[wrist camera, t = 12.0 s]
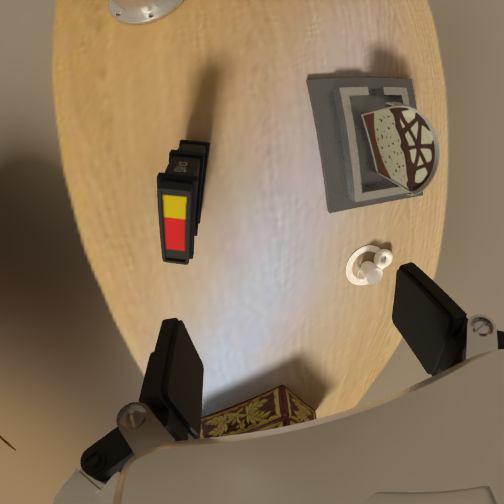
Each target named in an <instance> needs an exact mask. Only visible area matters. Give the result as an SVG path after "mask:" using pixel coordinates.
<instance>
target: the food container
mask: <svg viewBox="0 0 504 504" xmlns="http://www.w3.org/2000/svg"><path fill="white" fill-rule="evenodd" d="M386 104H389V105H392V107H388V108H384V109H380V110H376V111H372V112H369V113H365V114H362V115H361V116H362V119H363V122H364V126H365V129H366V132H367V136H368V140H369V143H370V147H371V151H372V155H373V159H374V163H375V167H376V171H377V173H378V174H379V175H381V176H383V177H385V178H386V179H388V180H390V181H392V182H393V183H395V184H397V185H398V186H400V187H402V188H403V189H405V190H407V191H408V192H410V193H408V194H407V195H410V196H413V195H417V194H419V193H420V192H422V191H423V190H424V189H425V188H426V187H427V186H428V185H429V184H430V183H431V181H432V180H433V178H434V176H435V174H436V171H437V168H438V164H439V156H440V152H439V142H438V138H437V135H436V132H435V130H434V128H433V126H432V124H431V123H430V121H429V120H428V119H427V118H426V117H425V116H424V115H423V114H422V113H421V112H419V111H418V110H417V109H415V108H413V107H411V106H408V105H405V104H402V103H398V102H386Z"/></svg>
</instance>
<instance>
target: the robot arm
mask: <svg viewBox="0 0 504 504" xmlns="http://www.w3.org/2000/svg"><path fill="white" fill-rule="evenodd" d="M183 1H184V0H108V8H109V11H110V13H111V14H112V16H113V17H114V18H115V19H117V20H118V21H120V22H123V23H125V24H132V25H136V24H145V23H149V22H153V21H156V20H158V19H160V18H163V17H164V16H166V15H168V14H170V13H171V12H172V11H174V10H175V9H176V8H177V7H178V6H179V5H180V4H181V3H182V2H183ZM152 16H153V17H152ZM151 17H152V18H151ZM392 320H393V323H394V325H395V326H396V328H397V329H398V330H399V332H400V333H401V335H402V336H403V338H404V339H405V340H406V342H407V343H408V345H409V346H410V348H411V349H412V351H413V352H414V354H415V355H416V357H417V358H418V360H419V361H420V363H421V364H422V366H423V367H424V369H425V370H426V372H427V373H428V374H431V375H432V376H433V377H431V378H428V379H426V380H424V381H422V382H420V383H418V384H415V385H413V386H411V387H409V388H406V389H404V390H402V391H399V392H397V393H394V394H392V395H389V396H387V397H384V398H381V399H379V400H376V401H373V402H370V403H368V404H365V405H362V406H359V407H356V408H353V409H350V410H347V411H343V412H340V413H337V414H333V415H330V416H326V417H322V418H319V419H315V420H311V421H307V422H303V423H298V424H294V425H289V426H285V427H280V428H275V429H269V430H263V431H257V432H251V433H244V434H237V435H230V436H222V437H212V438H202V439H197V435H199V434H200V433H201V411H202V390H203V372H204V368H203V364H202V361H201V359H200V357H199V355H198V353H197V351H196V349H195V347H194V345H193V343H192V341H191V338H190V336H189V334H188V332H187V330H186V328H185V325H184V323H183V321H181V320H180V321H178V319H177V318H171V319H165V320H163V322H162V325H161V329H160V332H159V336H158V340H157V343H156V347H155V351H154V352H152V353H151V355H150V358H149V361H148V365H147V369H146V373H145V377H144V381H143V385H142V389H141V394H140V398H139V402H132V403H129V404H127V405H125V406H124V407H122V408H121V409H120V411H119V412H118V414H117V417H116V423H117V426H118V427H116V428H115V429H114V430H112V431H111V432H110V433H108V434H107V435H106V436H105V437H103V438H102V439H100V440H99V441H97V442H96V443H95V444H93V445H92V446H91V447H89V448H88V449H87V450H86V451H84V453H83V455H82V457H81V467H82V468H81V469H80V470H78V469H76V470H75V472H74V473H73V474H72V475H71V477H70V478H69V479H68V480H67V482H66V483H65V484H64V485H63V487H62V488H61V489H60V490H59V492H58V493H57V494H56V496H55V498H54V504H504V332H503V331H498V330H497V329H496V325H495V323H494V321H493V320H492V319H491V318H489V317H487V316H485V315H474V316H472V317H470V319H468V318H467V317H466V313H465V312H464V311H463V310H462V309H461V308H460V307H459V306H458V305H457V304H456V303H455V302H454V301H453V300H452V299H451V298H450V297H449V296H448V295H447V294H446V293H445V292H444V291H443V290H442V289H441V288H440V287H439V286H438V285H437V284H436V283H435V282H434V281H433V280H432V279H431V278H429V277H428V276H427V275H426V274H425V273H424V272H423V271H422V270H421V269H420V268H418V267H417V266H416V265H415V264H414V263H412V262H410V263H407V264H404V265H401V266H400V268H399V269H398V270H397V274H396V286H395V296H394V305H393V313H392Z"/></svg>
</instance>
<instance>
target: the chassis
mask: <svg viewBox="0 0 504 504" xmlns="http://www.w3.org/2000/svg"><path fill="white" fill-rule="evenodd" d="M306 82H307V86H308V91H309V95H310V100H311V105H312V110H313V115H314V121H315V126H316V132H317V138H318V144H319V150H320V156H321V163H322V169H323V177H324V184H325V192H326V200H327V208H328V212H329V213H332V212H337V211H342V210H347V209H352V208H357V207H362V206H368V205H373V204H378V203H383V202H388V201H394V200H399V199H404V198H410V197H415V196H421V195H423V191H422V192H420V193H419V194H417V195H413V196H410V195H407V194H408V193H410V192H408V191H407V190H405V189H403V188H402V187H400V186H398V185H397V184H395V183H393V182H392V181H390V180H388V179H386V178H385V177H383V176H381V175H379V174H378V173H377V171H376V167H375V163H374V159H373V155H372V151H371V147H370V143H369V140H368V136H367V132H366V129H365V126H364V122H363V119H362V116H361V115H362V114H365V113H369V112H372V111H376V110H380V109H384V108H388V107H392V105H389V104H386V102H398V103H402V104H405V105H408V106H411V107H413V108H415V109H416V102H415V96H414V90H413V85H412V80H411V79H401V78H378V77H348V78H325V79H311V80H307V81H306Z"/></svg>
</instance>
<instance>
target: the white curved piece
mask: <svg viewBox="0 0 504 504" xmlns="http://www.w3.org/2000/svg"><path fill="white" fill-rule="evenodd" d="M367 251H371V252H374V253H376V254H375V256H374V263H373V262H371V261H365V262H363V263H362V264H361V268H360V270H359V271H358V274H357V278H356V277H355V276H354V275H353V273H352V265H353V262H354V260H355V259H356V258H357V257H358V256H359V255H360V254H361V253H363V252H367ZM385 256H386V259H385ZM392 259H393V256H392V253H391V251H389V250H387V249H380V248H379V247H377V246H374V245H367V246H363V247H361V248H359V249H358V250H356V251H355V252H354V253H353V254H352V255H351V257H350V258H349V260H348V262H347V265H346V275H347V278H348V279H349V281H350V282H352V283H353V284H356V285H366V284H376V283H378V282H379V281H380V280H381V278H382V274H383V273H382V270H383V268H385V267H387V266H388V265H389V264H390V263H391V262H392ZM360 272H362V274H363V276H364V278H362V279H360V278H359V274H360Z"/></svg>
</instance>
